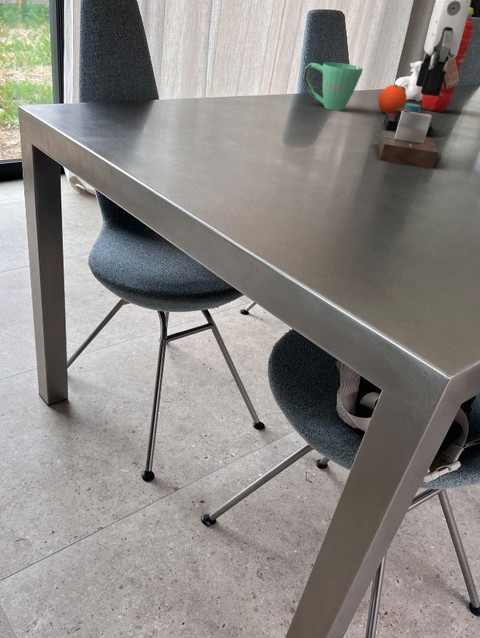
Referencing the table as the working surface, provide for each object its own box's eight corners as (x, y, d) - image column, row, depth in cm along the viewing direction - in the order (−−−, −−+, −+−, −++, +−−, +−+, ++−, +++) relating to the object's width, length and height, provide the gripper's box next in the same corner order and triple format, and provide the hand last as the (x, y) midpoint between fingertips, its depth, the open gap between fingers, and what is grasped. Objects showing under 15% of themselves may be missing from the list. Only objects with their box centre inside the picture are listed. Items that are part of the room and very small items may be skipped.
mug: (357, 110, 149) (367, 67, 143) (346, 115, 142) (356, 70, 136) (305, 99, 154) (312, 58, 148) (292, 104, 147) (300, 60, 141)
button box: (425, 128, 139) (430, 110, 136) (429, 137, 131) (435, 118, 128) (384, 121, 140) (388, 104, 138) (385, 130, 132) (391, 112, 130)
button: (417, 112, 134) (420, 104, 133) (419, 115, 131) (421, 107, 130) (402, 110, 135) (404, 102, 134) (403, 113, 132) (406, 105, 131)
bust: (428, 109, 174) (434, 74, 174) (436, 96, 166) (443, 59, 167) (388, 104, 175) (395, 68, 175) (395, 90, 168) (402, 54, 168)
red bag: (449, 117, 154) (485, 9, 140) (419, 112, 156) (451, 4, 141) (446, 109, 164) (480, 7, 149) (418, 105, 165) (448, 3, 151)
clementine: (390, 110, 153) (397, 81, 149) (409, 116, 149) (418, 87, 145) (369, 111, 150) (377, 81, 145) (389, 117, 145) (397, 87, 141)
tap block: (426, 153, 117) (431, 137, 115) (432, 168, 108) (438, 151, 106) (377, 145, 119) (382, 129, 117) (379, 160, 109) (384, 143, 107)
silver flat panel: (422, 141, 112) (431, 113, 109) (423, 143, 110) (432, 114, 107) (394, 137, 112) (402, 109, 109) (394, 139, 111) (403, 110, 108)
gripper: (490, -18, 89) (453, 101, 99) (471, -18, 103) (441, 86, 113) (441, -22, 90) (410, 96, 100) (429, -22, 104) (402, 81, 114)
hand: (426, 90), depth 106 cm, fingers open, 9 cm apart
